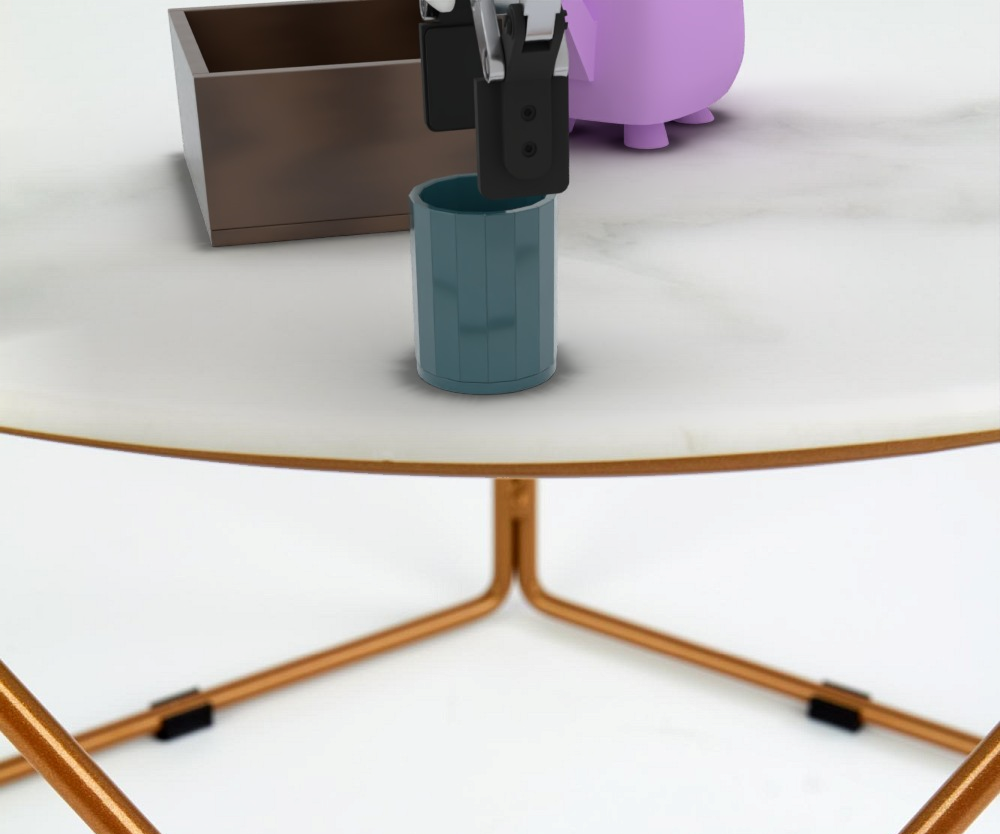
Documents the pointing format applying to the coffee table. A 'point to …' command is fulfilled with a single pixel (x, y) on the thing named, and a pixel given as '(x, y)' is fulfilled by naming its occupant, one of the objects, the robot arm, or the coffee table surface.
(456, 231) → the cup
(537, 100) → the robot arm
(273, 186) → the brown wooden box
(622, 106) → the purple piggy bank
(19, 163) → the coffee table surface
